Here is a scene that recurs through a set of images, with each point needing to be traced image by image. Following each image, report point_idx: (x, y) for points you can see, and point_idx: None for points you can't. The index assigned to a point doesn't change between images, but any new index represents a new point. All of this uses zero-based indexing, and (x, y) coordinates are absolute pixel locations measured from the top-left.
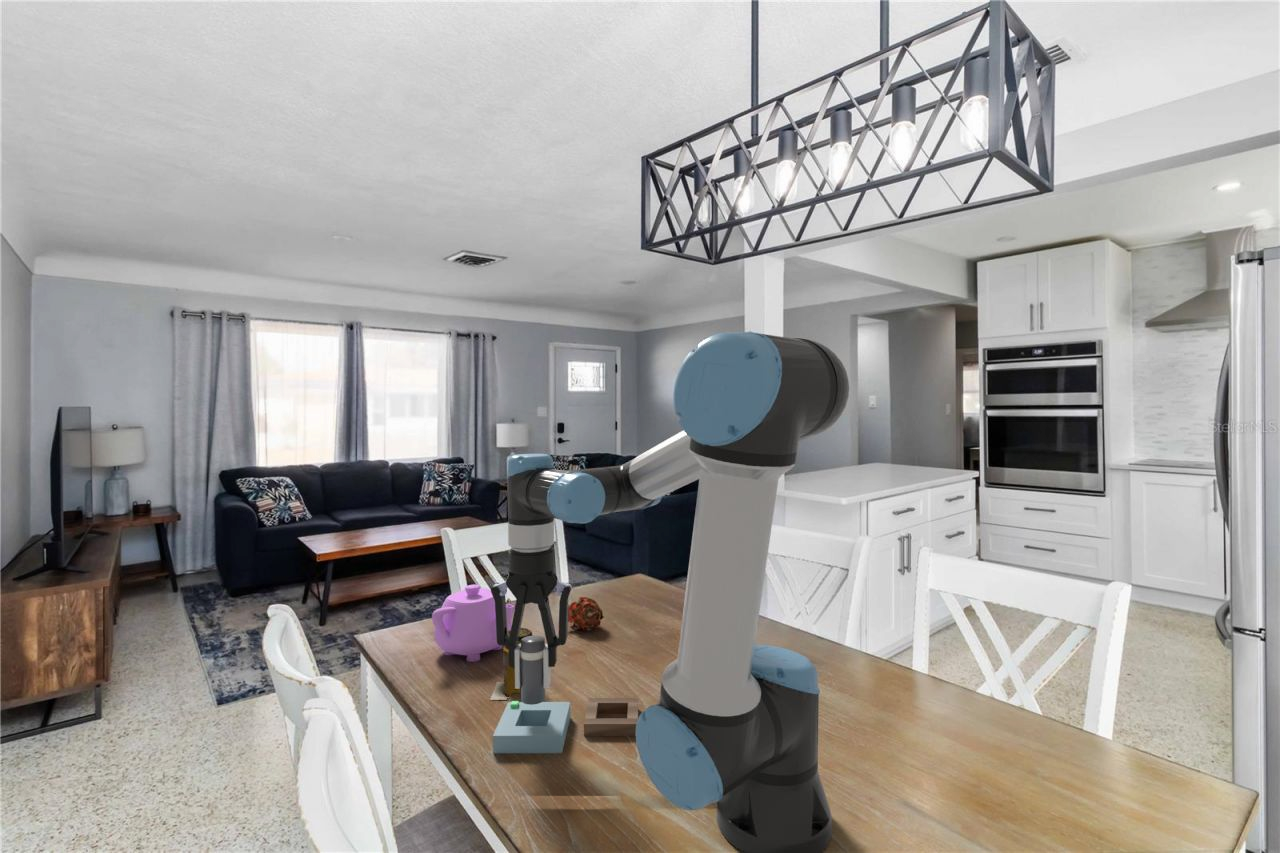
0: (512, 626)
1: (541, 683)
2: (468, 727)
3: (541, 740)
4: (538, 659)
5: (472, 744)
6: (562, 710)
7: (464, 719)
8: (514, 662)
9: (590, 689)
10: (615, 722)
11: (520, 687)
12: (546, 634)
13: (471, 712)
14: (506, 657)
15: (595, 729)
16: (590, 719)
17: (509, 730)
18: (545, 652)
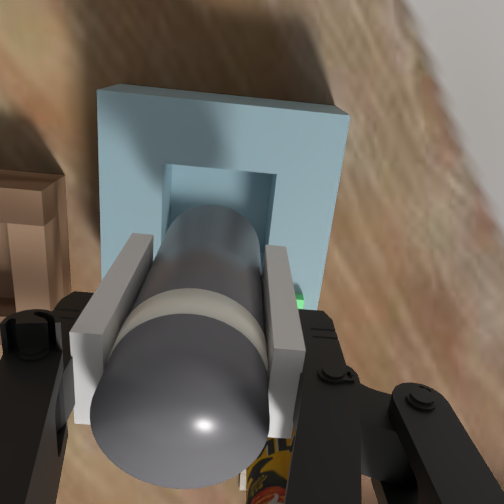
0: (351, 499)
1: (161, 250)
2: (420, 289)
3: (176, 96)
4: (148, 298)
5: (403, 200)
6: None
7: (433, 329)
8: (300, 322)
9: (88, 445)
10: None
11: (284, 441)
12: (33, 415)
13: (415, 362)
14: None
15: (9, 181)
16: (23, 218)
17: (293, 145)
18: (92, 325)
